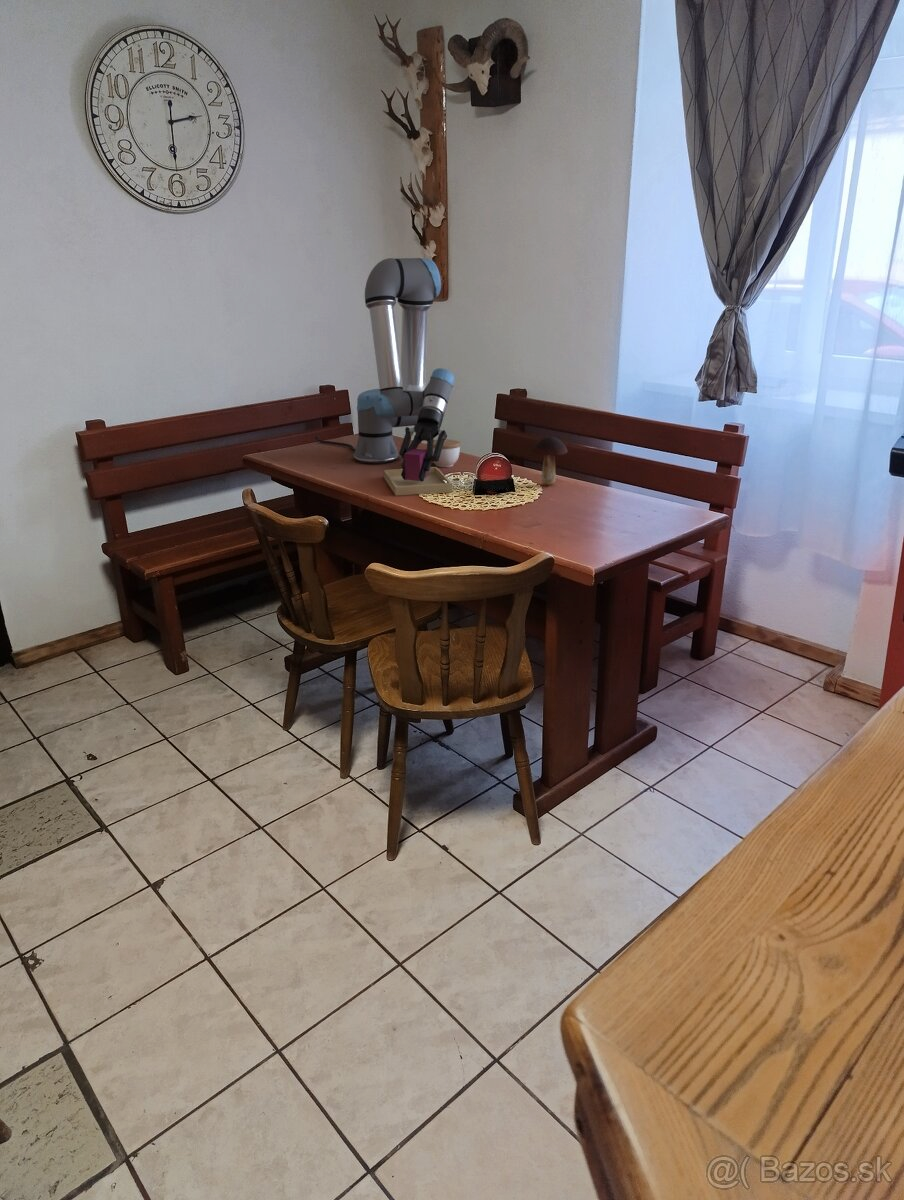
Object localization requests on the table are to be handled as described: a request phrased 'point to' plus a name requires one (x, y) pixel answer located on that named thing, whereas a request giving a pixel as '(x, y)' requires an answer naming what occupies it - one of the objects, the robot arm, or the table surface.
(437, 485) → the tray
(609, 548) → the table surface
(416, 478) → the mulberry block
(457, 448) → the trinket box
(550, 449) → the decorative mushroom
